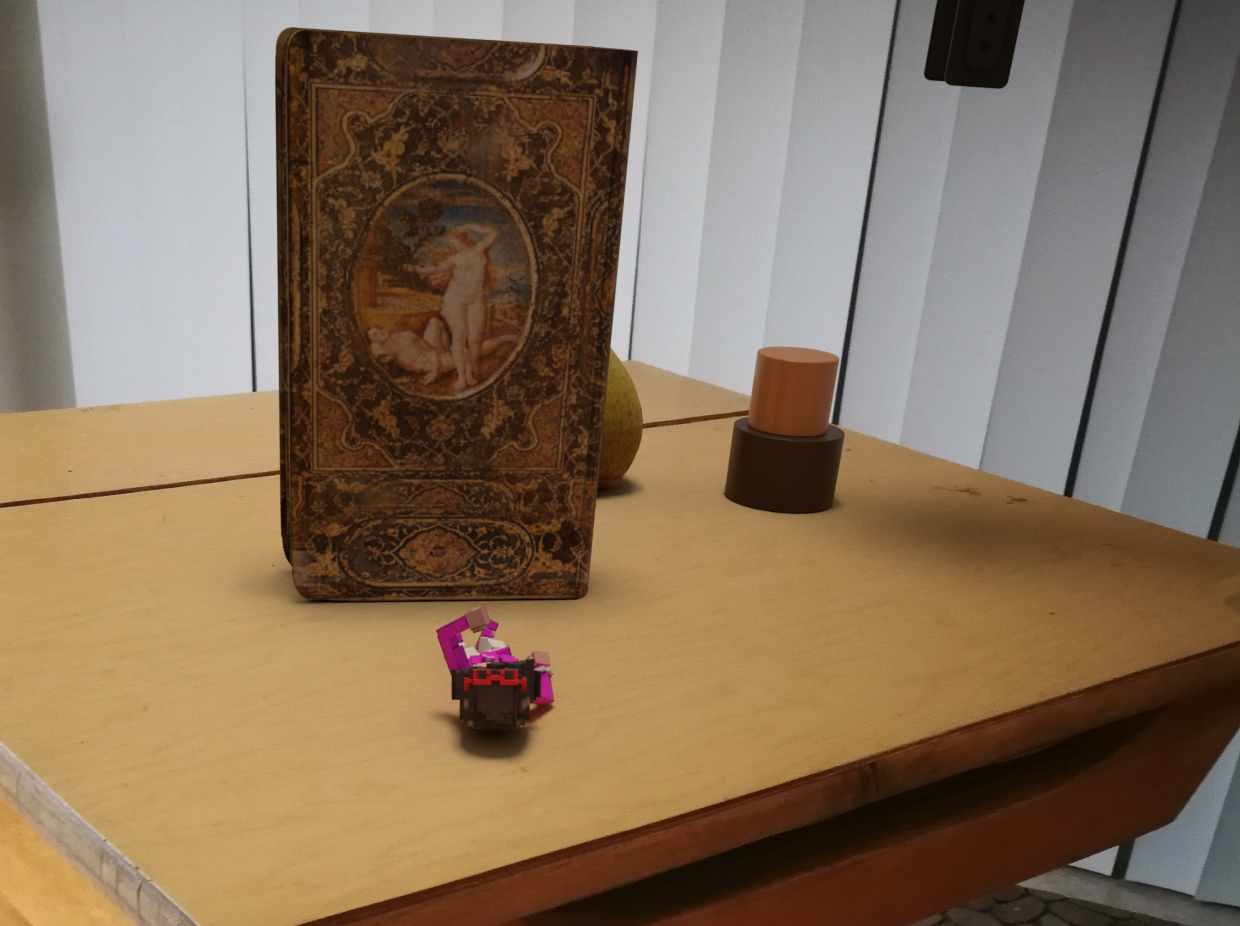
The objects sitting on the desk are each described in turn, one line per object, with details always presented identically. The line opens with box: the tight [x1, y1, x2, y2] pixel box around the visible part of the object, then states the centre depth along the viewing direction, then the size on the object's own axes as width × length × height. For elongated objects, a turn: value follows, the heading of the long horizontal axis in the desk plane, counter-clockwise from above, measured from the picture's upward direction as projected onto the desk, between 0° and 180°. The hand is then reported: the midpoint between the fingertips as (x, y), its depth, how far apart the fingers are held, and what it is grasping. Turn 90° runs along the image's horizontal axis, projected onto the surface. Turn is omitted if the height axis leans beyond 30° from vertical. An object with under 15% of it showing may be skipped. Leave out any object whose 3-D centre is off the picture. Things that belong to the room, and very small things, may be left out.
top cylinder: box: [747, 346, 840, 437], centre depth 98 cm, size 5×5×4 cm
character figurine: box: [435, 604, 555, 732], centre depth 67 cm, size 6×5×12 cm
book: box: [274, 26, 639, 602], centre depth 76 cm, size 16×6×25 cm, turn 102°
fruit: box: [597, 348, 644, 490], centre depth 99 cm, size 9×9×12 cm
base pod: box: [724, 416, 846, 514], centre depth 101 cm, size 7×7×4 cm
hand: (962, 83), depth 83 cm, fingers open, 9 cm apart
